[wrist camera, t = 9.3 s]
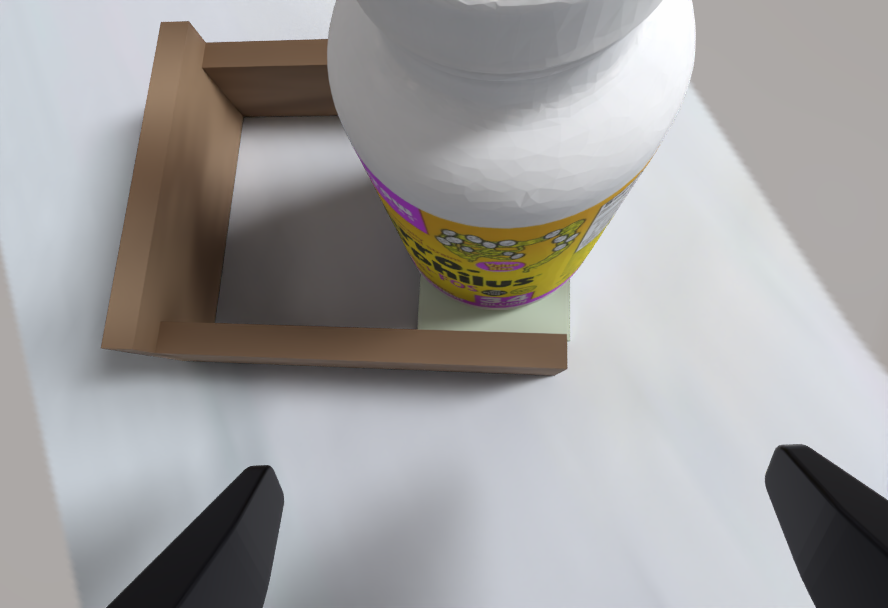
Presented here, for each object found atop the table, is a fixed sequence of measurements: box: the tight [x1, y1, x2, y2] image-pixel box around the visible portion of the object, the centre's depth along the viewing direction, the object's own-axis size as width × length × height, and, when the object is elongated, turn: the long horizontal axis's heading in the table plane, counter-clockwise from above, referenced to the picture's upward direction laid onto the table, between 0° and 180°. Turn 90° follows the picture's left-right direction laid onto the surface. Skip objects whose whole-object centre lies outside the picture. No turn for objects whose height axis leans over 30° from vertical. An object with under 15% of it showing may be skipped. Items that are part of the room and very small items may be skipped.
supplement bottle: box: [327, 0, 696, 310], centre depth 12 cm, size 7×7×13 cm
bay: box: [101, 21, 570, 376], centre depth 17 cm, size 11×14×4 cm
